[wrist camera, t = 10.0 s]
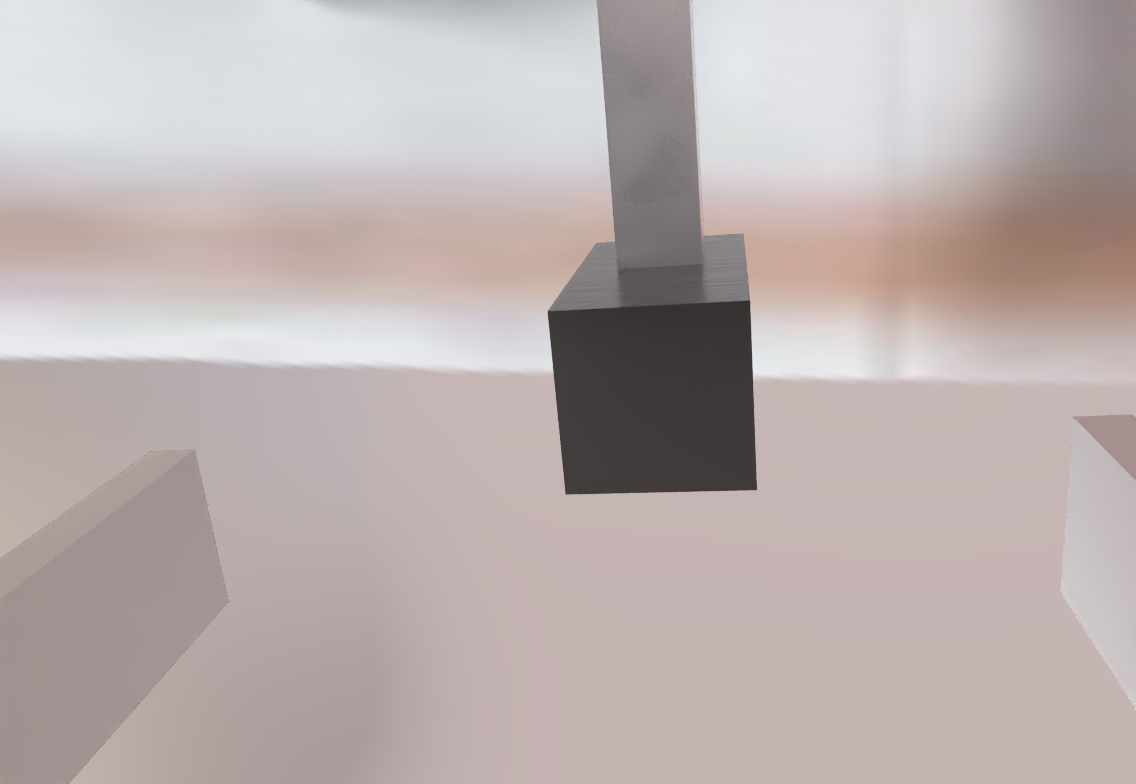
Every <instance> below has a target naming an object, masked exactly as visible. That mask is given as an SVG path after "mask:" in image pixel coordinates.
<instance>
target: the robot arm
mask: <svg viewBox="0 0 1136 784" xmlns="http://www.w3.org/2000/svg"><path fill="white" fill-rule="evenodd" d="M1064 537H1065V538H1064V551H1063V567H1062V579H1061V594H1062V596H1063V597H1064V599H1065V600H1066V602H1067V603H1068V605H1069V606H1070V608H1071V610H1072V611H1073V613H1074V614H1075V616H1076V617H1077V619H1078V620H1079V622H1080V624H1081V625H1082V627H1083V628H1084V630H1085V631H1086V633H1087V634H1088V636H1089V638H1090V639H1091V641H1092V642H1093V644H1094V645H1095V647H1096V648H1097V650H1098V652H1099V653H1100V655H1101V656H1102V658H1103V659H1104V661H1105V663H1106V664H1107V666H1108V667H1109V669H1110V670H1111V672H1112V673H1113V675H1114V677H1115V678H1116V679H1117V681H1118V683H1119V684H1120V686H1121V687H1122V689H1123V690H1124V692H1125V694H1126V695H1127V697H1128V698H1129V700H1130V701H1131V703H1132V704H1133V706H1134V708H1135V709H1136V417H1134V416H1133V415H1107V416H1082V417H1073V421H1072V435H1071V449H1070V465H1069V478H1068V494H1067V507H1066V522H1065V536H1064ZM228 602H229V601H228V596H227V592H226V587H225V583H224V578H223V574H222V569H221V565H220V560H219V556H218V552H217V547H216V542H215V538H214V533H213V529H212V524H211V520H210V515H209V511H208V506H207V502H206V498H205V493H204V488H203V484H202V479H201V475H200V471H199V466H198V462H197V457H196V452H195V450H166V451H150V452H149V453H147V454H146V455H144V456H143V457H142V458H140V459H139V460H137V461H136V462H135V463H133V464H132V465H130V466H129V467H128V468H126V469H125V470H123V471H122V472H120V473H119V474H118V475H116V476H115V477H113V478H112V479H111V480H109V481H108V482H106V483H105V484H104V485H102V486H101V487H99V488H98V489H97V490H95V491H94V492H92V493H91V494H90V495H88V496H87V497H85V498H84V499H83V500H81V501H80V502H78V503H77V504H76V505H74V506H73V507H71V508H70V509H69V510H67V511H66V512H64V513H63V514H62V515H60V516H59V517H57V518H56V519H55V520H53V521H52V522H50V523H49V524H47V525H46V526H45V527H43V528H42V529H40V530H39V531H38V532H36V533H35V534H33V535H32V536H31V537H29V538H28V539H26V540H25V541H24V542H22V543H21V544H19V545H18V546H17V547H15V548H14V549H13V550H11V551H10V552H8V553H7V554H5V555H4V556H3V557H1V558H0V784H69V783H70V782H71V781H72V780H73V779H74V777H75V776H76V775H77V774H78V773H79V772H80V771H81V769H82V768H83V767H84V766H85V765H86V764H87V763H88V762H89V760H90V759H91V758H92V757H93V756H94V755H95V754H96V752H97V751H98V750H99V749H100V748H101V747H102V746H103V745H104V743H105V742H106V741H107V740H108V739H109V738H110V736H111V735H112V734H113V733H114V732H115V731H116V730H117V729H118V727H119V726H120V725H121V724H122V723H123V722H124V721H125V719H126V718H127V717H128V716H129V715H130V714H131V713H132V712H133V710H134V709H135V708H136V707H137V706H138V705H139V704H140V702H141V701H142V700H143V699H144V698H145V697H146V696H147V694H148V693H149V692H150V691H151V690H152V688H154V686H155V685H156V684H157V683H158V682H159V681H160V680H161V678H162V677H163V676H164V675H165V674H166V673H167V672H168V671H169V669H170V668H171V667H172V666H173V665H174V664H175V663H176V661H177V660H178V659H179V658H180V657H181V655H183V653H184V652H185V651H186V650H187V649H188V648H189V647H190V645H191V644H192V643H193V642H194V641H195V640H196V639H197V637H198V636H199V635H200V634H201V633H202V632H203V631H204V630H205V628H206V627H207V626H208V625H209V624H210V623H211V622H212V620H213V619H214V618H215V617H216V616H217V615H218V614H219V612H220V611H221V610H222V609H223V608H224V607H225V606H226V605H227V603H228Z"/></svg>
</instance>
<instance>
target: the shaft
mask: <svg viewBox="0 0 1136 784" xmlns="http://www.w3.org/2000/svg"><path fill="white" fill-rule="evenodd" d="M597 7H598V20H599V33H600V46H601V60H602V73H603V86H604V99H605V112H606V125H607V138H608V152H609V165H610V178H611V191H612V204H613V217H614V231H615V242H607V243H596V244H595V246H594V247H593V248H592V250H591V251H590V253H589V254H588V255H587V257H586V258H585V260H584V261H583V262H582V264H581V265H580V267H579V268H578V269H577V271H576V272H575V274H574V275H573V277H572V278H571V279H570V281H569V282H568V284H567V285H566V286H565V288H564V289H563V291H562V292H561V293H560V295H559V296H558V298H557V299H556V300H555V302H554V303H553V305H552V306H551V307H550V309H549V310H548V320H549V330H550V340H551V350H552V360H553V370H554V381H555V390H556V401H557V411H558V421H559V431H560V441H561V451H562V462H563V471H564V482H565V492H566V494H602V493H603V494H605V493H648V492H690V491H691V492H692V491H734V490H735V491H736V490H757V481H756V453H755V426H754V398H753V370H752V342H751V314H750V295H749V285H748V275H747V265H746V256H745V246H744V236H743V234H729V235H714V236H704V232H703V212H702V191H701V171H700V151H699V130H698V110H697V90H696V70H695V49H694V29H693V9H692V0H597Z"/></svg>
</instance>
